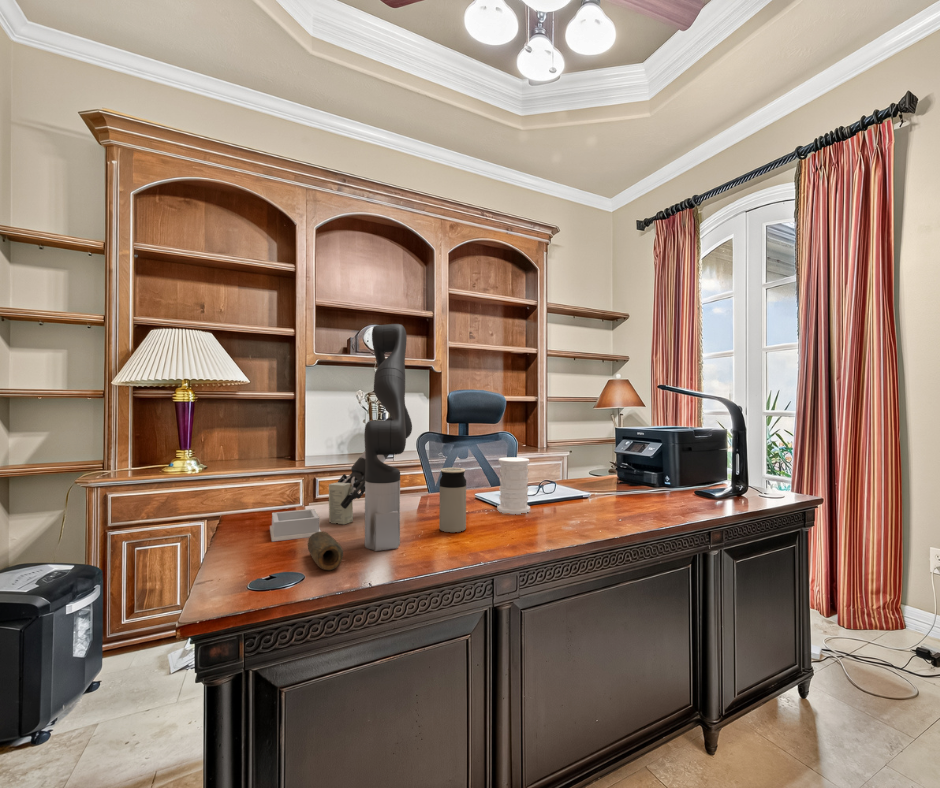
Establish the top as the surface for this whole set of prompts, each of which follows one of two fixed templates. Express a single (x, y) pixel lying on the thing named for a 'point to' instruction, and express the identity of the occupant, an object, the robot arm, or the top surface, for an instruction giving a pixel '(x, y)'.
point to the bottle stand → (294, 524)
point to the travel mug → (452, 500)
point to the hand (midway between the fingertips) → (336, 504)
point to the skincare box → (335, 499)
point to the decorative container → (513, 485)
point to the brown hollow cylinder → (325, 550)
